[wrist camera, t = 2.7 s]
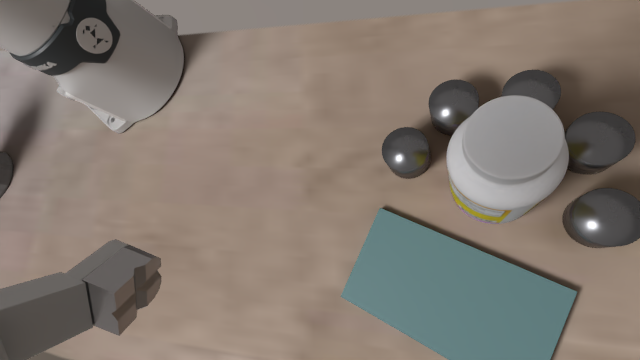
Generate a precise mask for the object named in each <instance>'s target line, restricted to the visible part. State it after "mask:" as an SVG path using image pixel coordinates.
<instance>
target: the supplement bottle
mask: <svg viewBox="0 0 640 360" xmlns="http://www.w3.org/2000/svg"><path fill="white" fill-rule="evenodd" d="M568 161H569V151H568V146H567V142H566V140H565V134H564V128H563V124H562V122H561V120H560V118H559V117H558V115H557V114H556V113H555V112H554V111H553V110H552V109H551V108H550V107H549V106H548V105H546V104H545V103H543V102H541V101H539V100H537V99H534V98H531V97H527V96H519V95H511V96H503V97H499V98H496V99H493V100H491V101H489V102H487V103H485V104H483V105H482V106H480V107H479V108H478V109H477V110H476V111H475V112H474V113H473V114H472V115H471V116H470V117H468V118H467V119H466V120H465V121H464V122H463V123H462V124H461V125H460V126H459V127H458V128H457V129H456V131H455V132H454V134H453V135H452V137H451V140H450V142H449V145H448V149H447V169H448V175H449V182H450V188H451V193H452V196H453V198H454V201H455V202H456V204H457V205H458V207H459V208H460V209H461V210H462V211H463V212H464V213H465V214H467V215H468V216H469V217H471V218H473V219H475V220H477V221H480V222H484V223H490V224H501V223H507V222H510V221H513V220H516V219H518V218H519V217H521V216H523V215H524V214H526V213H527V212H528V211H529V210H531V209H532V208H533V207H534V206H536V205H537V204H538V203H539V202H541V201H542V200H543V199H545V198H546V197H547V196H549V195H550V194H551V193H552V192H553V191H554V190H555V189H556V188H557V187H558V185H559V184H560V183H561V181H562V179H563V178H564V175H565V173H566V170H567V167H568Z"/></svg>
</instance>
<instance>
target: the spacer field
mask: <svg viewBox="0 0 640 360" xmlns="http://www.w3.org/2000/svg"><path fill="white" fill-rule="evenodd" d="M511 95H519V96H527V97H531V98H534V99H537V100H539V101H541V102H543V103H545V104H546V105H548V106H549V107H550V108H551V109H552V110H553V109H554V107H555V106H556V104H557V103H558V101H559V99H560V95H561V88H560V85H559V83H558V81H557V80H556V79H555V78H554V77H553V76H552V75H551V74H549V73H547V72H544V71H540V70H527V71H523V72H520V73H518V74H516V75H514V76H513V77H511V78H510V79H509V80H508V81H507V83H506V84H505V86H504V88H503V91H502V95H501V97H503V96H511ZM478 103H479V96H478V92H477V90H476V89H475V87H474V86H473V85H471V84H470V83H468V82H466V81H463V80H449V81H446V82H444V83H442V84H440V85H439V86H437V87H436V88H435V89H434V90H433V92H432V93H431V95H430V98H429V109H430V114H431V120H432V123H433V125H434V127H435V128H436V129H437V130H438V131H440V132H441V133H444V134H447V135H453V134H454V132H455V131H456V129H457V128H458V127H459V126H460V125H461V124H462V123H463V122H464V121H465V120H466V119H467V118H468V117H470V116H471V115H472V114H473V113H474V112H475V111H476V110H477V109H478ZM564 134H565V140H566V142H567V146H568V151H569V161H568V167H567V169H569V170H571V171H573V172H576V173H580V174H595V173H599V172H602V171H604V170H606V169H607V168H609V167H610V166H612V165H614V164H615V163H617V162H618V161H620V160H621V159H623V158H624V157H626V156H627V155H628V154H629V153H630V152H631V150H632V149H633V147H634V144H635V133H634V130H633V128H632V126H631V125H630V124H629V123H628V122H627V121H626V120H625V119H623V118H622V117H620V116H618V115H615V114H612V113H608V112H592V113H588V114H585V115H583V116H581V117H579V118H577V119H576V120H575V121H574V122H573V123H572V124H571V125H570V126H569V128H568V129H567V130H566V131H565V133H564ZM382 156H383V158H384V160H385V162H386V163H387V165H388V166H389V167H390V169H391V170H392V172H393V173H394V174H396V175H397V176H399V177H401V178H406V179H410V178H415V177H418V176H420V175H422V174H423V173H424V172H425V171H426V170H427V168H428V167H429V165H430V161H431V154H430V150H429V146H428V142H427V139H426V137H425V136H424V135H423V134H422V133H421V132H420V131H419V130H417V129H414V128H410V127H404V128H399V129H396V130H394V131H393V132H391V133H390V134H389V135H388V136H387V137H386V139H385V140H384V143H383V146H382ZM563 225H564V228H565V230H566V232H567V233H568V235H569V236H570V237H571V238H572V239H573V240H575V241H576V242H578V243H580V244H582V245H584V246H587V247H592V248H606V247H616V246H624V245H628V244H630V243H633V242H634V241H636V240H637V239H639V238H640V202H639V201H638V200H637V199H636V198H635V197H633V196H632V195H630V194H628V193H626V192H624V191H621V190H617V189H612V188H601V189H596V190H593V191H590V192H588V193H586V194H585V195H583V196H581V197H579V198H577V199H575V200H574V201H572V202H571V203H570V204H569V205H568V206H567V207H566V208H565V210H564V213H563Z"/></svg>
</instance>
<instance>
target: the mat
mask: <svg viewBox="0 0 640 360" xmlns="http://www.w3.org/2000/svg"><path fill="white" fill-rule="evenodd" d="M576 294H577V291H574V290H572V289H569V288H567V287H565V286H562V285H560V284H558V283H555V282H553V281H551V280H548V279H546V278H544V277H541V276H539V275H537V274H534V273H532V272H530V271H527V270H525V269H523V268H520V267H518V266H515V265H513V264H511V263H508V262H506V261H504V260H501V259H499V258H497V257H494V256H492V255H490V254H487V253H485V252H483V251H480V250H478V249H476V248H473V247H471V246H469V245H466V244H464V243H461V242H459V241H457V240H454V239H452V238H450V237H447V236H445V235H443V234H440V233H438V232H436V231H433V230H431V229H429V228H426V227H424V226H422V225H419V224H417V223H415V222H412V221H410V220H407V219H405V218H403V217H400V216H398V215H396V214H393V213H391V212H389V211H386V210H384V209H382V208H380V209H379V211H378V213H377V215H376V218H375V220H374V222H373V225H372V227H371V229H370V231H369V234H368V236H367V238H366V240H365V243H364V245H363V247H362V249H361V252H360V254H359V256H358V259H357V261H356V263H355V265H354V268H353V270H352V272H351V274H350V277H349V279H348V281H347V283H346V286H345V288H344V290H343V293H342V295H341V297H342V298H344V299H346V300H348V301H349V302H351V303H353V304H354V305H356V306H358V307H360V308H361V309H363V310H365V311H366V312H368V313H370V314H372V315H373V316H375V317H377V318H378V319H380V320H382V321H384V322H385V323H387V324H389V325H390V326H392V327H394V328H396V329H397V330H399V331H401V332H402V333H404V334H406V335H408V336H409V337H411V338H413V339H414V340H416V341H418V342H420V343H421V344H423V345H425V346H426V347H428V348H430V349H432V350H433V351H435V352H437V353H438V354H440V355H442V356H444V357H445V358H447V359H449V360H550V359H551V357H552V354H553V352H554V349H555V347H556V344H557V342H558V339H559V337H560V334H561V332H562V329H563V327H564V324H565V322H566V319H567V316H568V314H569V311H570V309H571V306H572V304H573V301H574V299H575V296H576Z"/></svg>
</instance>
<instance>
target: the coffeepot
mask: <svg viewBox="0 0 640 360" xmlns="http://www.w3.org/2000/svg"><path fill="white" fill-rule="evenodd" d="M12 173H13V163H12V160H11V158H10V157H9V156H8V155H7V153H1V152H0V198H1V196H2V195H3V194H4V193H5V191H6V190H7V188H8V186H9V184H10V181H11V178H12Z"/></svg>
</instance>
